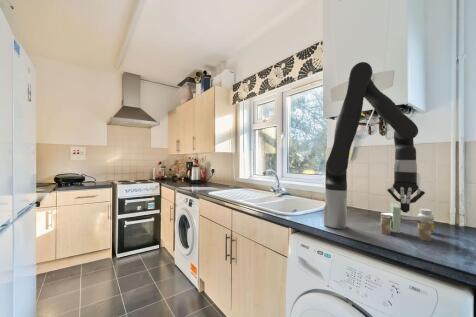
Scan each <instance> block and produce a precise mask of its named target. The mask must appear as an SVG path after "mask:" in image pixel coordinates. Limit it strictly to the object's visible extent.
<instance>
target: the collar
mask: <svg viewBox="0 0 476 317" xmlns="http://www.w3.org/2000/svg"><path fill="white" fill-rule="evenodd" d="M401 212H402V211H401V206H400V205H399V204H398V203H392V202H391V203H390V214H392V220H391V219H390V229H391V230H392V232H395V233H401V221H400V218H401V215H402V214H401Z"/></svg>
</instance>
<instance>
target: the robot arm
mask: <svg viewBox="0 0 476 317" xmlns="http://www.w3.org/2000/svg"><path fill="white" fill-rule="evenodd" d="M372 76H373V68H372V65H370V64H369V62H366V61H361V62H358V63H356V64H354V65H353V66H352V68H351V69H350V70H349V72H348V82H347V88H346V92H345V95H344V99H343V101H342V104H341V107H340V109H339V113H338V116H337V118H336V124H335V127H334V128H335V129H334V137H333V139H334V140H333V143H332V147H331V150H330V152H329V156H328V158H327V160H326V163H325V195H324V196H325V198H324V200H325V201H324V207H323V210H324V211H323V214H324V215H323V219H324V220H323V225H324V226H325V227H328V228H332V229H346V228H347V218H348V217H347V214H348V212H347V210H348V209H347V208H348V204H347V202H348V181H347V179H348V178H347V172H348V170H347V169H348V167H349V159H350V152H351V148H352V145H353V142H354V140H355V137H356V134H357V131H358V128H359V124H360V120H361V116H362V111H363V106H364V99H365V100H366V101H367V102H368V103H369V104H370V105H371V107H372V108H373V109H374V110H375V111H376V113H377V114H378V115H379V117H380V118H381V120H383V121H384V123H385V124H387V125H389V126H390V127H391V128H392V129H393V130H394V131H393V142H394V148H395V150H394V165H393V166H394V167H393V172H394V173H393V175H394V176H393V177H394V178H393V184H392V186H391V187H389V188H387V189H386V191H387V192H388V193H389V194H390V195H391V196H392V198H394V200H395V201H396V202H399V203H400V208H401V212H402V213H408V212H410V211H411V210H410V207H411V206H410V204H415V203H416V202H418V200H420V199H421V198H422V197H423V196H424V195H425V194H426V192H425V191H424V190H421V189H420V188H419V185H418V176H417V175H418V163H417V150H416V147H415V145H414V139H415V138H416V136H417V135H418V133H419V127H418V125H416V123H415V122H414V121H413V120H412V119H411V118H410V117H408V115H406V114H405V113H403V111H402V110H401V109H400V107H399V106H397V105H396V102H394V101H393V100H392V99H391V98H390V97H388V96H387V95H386V94H384V93H383V92H382V91H381V90H379V88H378V87H377V86H376V84H375V83H374V82H373V80H372ZM395 191H396V193H397V194H399V197H398V196H397V195H396V194H395ZM414 193H416V195H415V196H413V197H412V195H414ZM411 197H412V198H411Z"/></svg>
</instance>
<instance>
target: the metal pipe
mask: <svg viewBox="0 0 476 317" xmlns="http://www.w3.org/2000/svg"><path fill="white" fill-rule="evenodd" d="M381 216H386V217H390V221H391V220H392V214H391V213H388V212H387V213H386V212H380V217H381ZM420 221H426V222H430V219H429V218H423V217H418V216H413V215H403V214H401V218H400V222H407V223H415V224H418V223H420Z"/></svg>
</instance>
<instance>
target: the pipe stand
mask: <svg viewBox="0 0 476 317" xmlns="http://www.w3.org/2000/svg"><path fill="white" fill-rule="evenodd" d="M380 232H381V234H385V235H389V236H390V235H391V219H390V217H386V216H381V215H380ZM417 236H418V238H419V239H420V240H421V241H429V242H431V241H432V234H431V223H430V222H426V221H420V223H417Z"/></svg>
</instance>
